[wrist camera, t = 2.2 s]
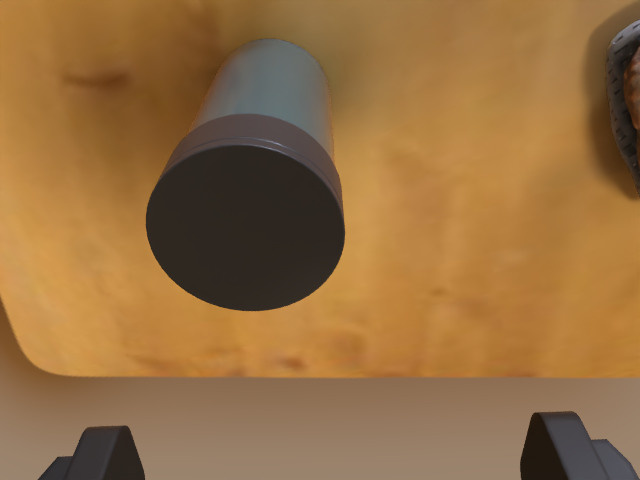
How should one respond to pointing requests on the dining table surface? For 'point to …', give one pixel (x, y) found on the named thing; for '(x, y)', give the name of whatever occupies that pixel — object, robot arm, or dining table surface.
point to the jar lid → (247, 213)
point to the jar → (272, 89)
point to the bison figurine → (625, 95)
